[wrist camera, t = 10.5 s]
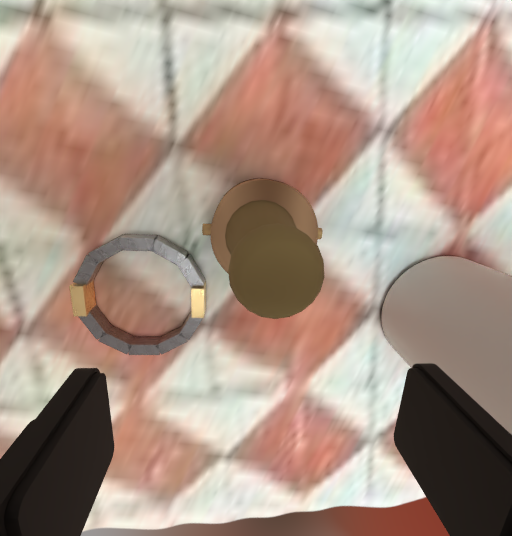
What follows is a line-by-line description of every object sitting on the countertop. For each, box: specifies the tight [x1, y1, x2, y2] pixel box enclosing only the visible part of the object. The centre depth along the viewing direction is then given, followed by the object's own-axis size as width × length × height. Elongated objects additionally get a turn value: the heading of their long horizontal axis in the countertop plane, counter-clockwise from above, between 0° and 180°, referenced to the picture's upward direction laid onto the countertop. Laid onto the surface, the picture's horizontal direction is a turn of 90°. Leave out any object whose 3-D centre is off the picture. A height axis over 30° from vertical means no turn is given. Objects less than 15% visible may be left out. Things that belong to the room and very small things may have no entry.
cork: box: [225, 200, 324, 319], centre depth 20 cm, size 6×6×11 cm
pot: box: [202, 178, 322, 273], centre depth 28 cm, size 11×9×5 cm
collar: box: [69, 234, 206, 355], centre depth 31 cm, size 12×12×2 cm
